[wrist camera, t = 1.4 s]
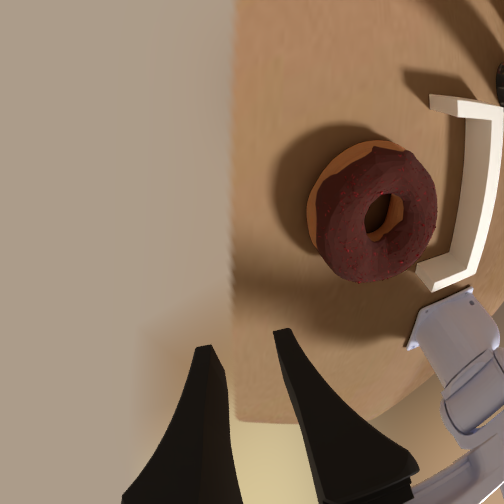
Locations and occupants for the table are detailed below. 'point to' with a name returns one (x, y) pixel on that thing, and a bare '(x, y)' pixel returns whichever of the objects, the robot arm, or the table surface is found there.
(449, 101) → the stop
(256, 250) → the table surface
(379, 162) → the donut
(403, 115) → the table surface
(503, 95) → the deodorant
